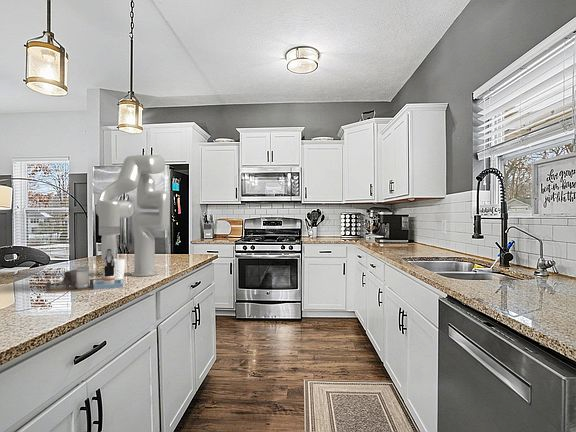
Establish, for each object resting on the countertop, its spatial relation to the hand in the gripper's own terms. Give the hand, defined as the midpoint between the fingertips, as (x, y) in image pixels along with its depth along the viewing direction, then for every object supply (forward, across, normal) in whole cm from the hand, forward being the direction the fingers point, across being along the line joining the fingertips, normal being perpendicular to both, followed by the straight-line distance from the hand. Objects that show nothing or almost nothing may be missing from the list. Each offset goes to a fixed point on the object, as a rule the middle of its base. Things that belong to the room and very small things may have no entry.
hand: (109, 273), depth 137 cm
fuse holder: (+6, +1, -13) cm, 15 cm away
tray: (+6, +1, 0) cm, 6 cm away
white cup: (+7, -18, +2) cm, 20 cm away
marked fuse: (+6, +1, 0) cm, 6 cm away
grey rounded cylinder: (+5, +1, -9) cm, 10 cm away
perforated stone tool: (+7, -15, -13) cm, 21 cm away
